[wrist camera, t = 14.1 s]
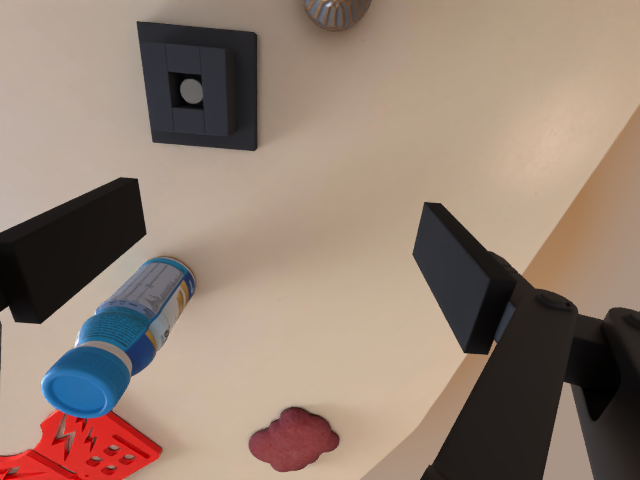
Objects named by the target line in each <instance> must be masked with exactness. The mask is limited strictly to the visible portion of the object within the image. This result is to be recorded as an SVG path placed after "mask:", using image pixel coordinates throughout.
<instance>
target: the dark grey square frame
mask: <svg viewBox="0 0 640 480" xmlns="http://www.w3.org/2000/svg"><path fill="white" fill-rule="evenodd" d="M139 43H140V50H141V58H142V65H143V73H144V80H145V88H146V95H147V103H148V110H149V118H150V125H151V130H157V131H169V132H181V133H193V134H206V135H216V136H230V135H231V134H233V133H235V132H237V105H236V67H235V52H233V51H230V50H227V49H224V48H213V47H202V46H192V45H181V44H170V43H159V42H149V41H139ZM184 73H188V74H199V75H202V89H203V105H204V107H203V106H192V105H186V101H185V100H184V98H183V97H182V95H181V92H180V87H181V84H182V82H183V81H184Z"/></svg>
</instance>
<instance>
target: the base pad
mask: <svg viewBox="0 0 640 480" xmlns="http://www.w3.org/2000/svg"><path fill="white" fill-rule="evenodd" d="M137 29H138V36H139V41H149V42H159V43H170V44H181V45H192V46H202V47H213V48H224V49H227V50H230V51H233V52H235V67H236V105H237V132H235V133H233V134H231V135H230V136H216V135H206V134H193V133H181V132H169V131H157V130H151V134H152V141H153V142H155V143H166V144H178V145H190V146H202V147H214V148H226V149H237V150H249V151H255V150H256V149H257V34H256V33H254V32H245V31H235V30H224V29H213V28H203V27H192V26H182V25H171V24H160V23H150V22H139V21H137ZM139 44H140V43H139ZM140 51H141V50H140ZM141 59H142V58H141ZM142 66H143V65H142ZM143 74H144V73H143ZM144 81H145V80H144ZM145 89H146V88H145ZM180 92H181V95H182V97H183V98H184V100H185V101H186V105H192V106H203V107H204V105H203V89H202V75H199V74H188V73H184V81H183V82H182V84H181V87H180ZM146 96H147V95H146ZM147 104H148V103H147ZM148 111H149V110H148ZM149 119H150V118H149ZM150 126H151V125H150Z"/></svg>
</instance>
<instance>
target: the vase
mask: <svg viewBox="0 0 640 480" xmlns="http://www.w3.org/2000/svg"><path fill="white" fill-rule="evenodd" d="M371 1H372V0H302V3H303V6H304V8H305V10H306V12H307V14H308V15H309V17H310V18H311V19H312V20H313V21H314V22H315V23H316V24H317V25H318V26H320V27H322V28H324V29H326V30H329V31H342V30H346V29H348V28H350V27H352V26H354V25H355V24H356V23H357V22H359V21H360V20H361V19H362V17H363V16H364V15H365V13H366V12H367V10H368V8H369V6H370V4H371Z"/></svg>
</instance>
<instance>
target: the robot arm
mask: <svg viewBox="0 0 640 480" xmlns="http://www.w3.org/2000/svg"><path fill="white" fill-rule="evenodd" d="M145 235H146V227H145V221H144V215H143V209H142V202H141V196H140V190H139V184H138V179H135V178H122V177H120V178H118V179H116V180H114V181H112V182H109V183H107V184H105V185H103V186H101V187H98V188H96V189H94V190H92V191H90V192H88V193H85V194H83V195H81V196H79V197H77V198H75V199H72V200H70V201H68V202H66V203H64V204H62V205H59V206H57V207H55V208H53V209H51V210H49V211H46V212H44V213H42V214H40V215H38V216H36V217H33V218H31V219H29V220H27V221H25V222H22V223H20V224H18V225H16V226H14V227H12V228H9V229H7V230H5V231H3V232H1V233H0V312H1V311H2V310H4V309H5V308H6V307H8V306H9V308H10V310H11V313H12V315H13V318H14V320H15V322H20V323H35V324H41V323H43V322H44V321H45V320H46V319H47V318H48V317H50V316H51V315H52V314H53V313H54V312H55V311H57V310H58V309H59V308H60V307H61V306H63V305H64V304H65V303H66V302H67V301H68V300H70V299H71V298H72V297H73V296H74V295H75V294H77V293H78V292H79V291H80V290H81V289H83V288H84V287H85V286H86V285H87V284H88V283H90V282H91V281H92V280H93V279H94V278H95V277H97V276H98V275H99V274H100V273H101V272H103V271H104V270H105V269H106V268H107V267H108V266H110V265H111V264H112V263H113V262H114V261H115V260H117V259H118V258H119V257H120V256H121V255H123V254H124V253H125V252H126V251H127V250H128V249H130V248H131V247H132V246H133V245H134V244H135V243H137V242H138V241H139V240H140V239H141V238H143V237H144V236H145ZM412 255H413V257H414V259H415V260H416V262H417V264H418V266H419V268H420V270H421V272H422V274H423V276H424V278H425V279H426V281H427V283H428V285H429V287H430V289H431V291H432V293H433V295H434V297H435V299H436V300H437V302H438V304H439V306H440V308H441V310H442V312H443V314H444V316H445V318H446V320H447V321H448V323H449V325H450V327H451V329H452V331H453V333H454V335H455V337H456V339H457V341H458V342H459V344H460V346H461V348H462V350H463V352H464V353H470V354H485V355H488V353H489V351H490V348H491V346H492V343H493V341H494V340H495V341H496V343H497V345H496V347H495V349H494V351H493V353H492V354H491V356H490V358H489V360H488V362H487V363H486V365H485V367H484V369H483V371H482V373H481V375H480V377H479V379H478V380H477V382H476V384H475V386H474V388H473V390H472V391H471V394H470V395H469V397H468V399H467V401H466V403H465V405H464V407H463V409H462V410H461V412H460V414H459V416H458V418H457V419H456V422H455V423H454V425H453V427H452V429H451V431H450V433H449V435H448V436H447V438H446V440H445V442H444V444H443V446H442V447H441V449H440V452H439V453H438V455H437V457H436V459H435V460H434V462H433V464H432V465H429V466H428V468H427V469H426V470H425V472H424V474H423V476H422V478H421V479H420V480H542V479H543V474H544V469H545V465H546V460H547V456H548V451H549V446H550V441H551V437H552V432H553V428H554V423H555V418H556V414H557V409H558V405H559V400H560V395H561V391H562V386H563V382H567V383H570V384H571V388H572V392H573V396H574V400H575V404H576V408H577V412H578V416H579V420H580V424H581V429H582V432H583V437H584V440H585V445H586V448H587V453H588V457H589V461H590V465H591V469H592V473H593V477H594V480H640V312H637V311H634V310H631V309H626V308H620V307H619V308H612V309H610V310H609V311H608V313H607V315H606V317H605V319H604V320H601V319H596V318H593V317H588V316H584V315H580V314H578V309H577V307H576V306H575V305H574V304H573V303H572V302H571V301H569V300H568V299H566V298H565V297H563V296H560V295H558V294H556V293H554V292H550V291H547V290H542V289H535V288H534V287H533V286H532V285H531V284H530V283H529V282H528V281H527V280H526V279H524V278H523V277H522V276H521V275H520V274H518V272H517V271H516V270H515V269H514V268H513V267H511V265H510V264H509V263H508V262H507V261H506V260H505V259H504V258H502V257H500V256H499V255H497V254H495V253H493V252H491V251H487V250H486V249H485V248H484V247H483V246H482V245H481V244H480V243H479V242H478V241H477V240H476V239H475V238H474V237H473V236H472V235H471V234H470V233H469V232H468V231H467V229H466V228H465V227H464V226H463V225H462V224H461V223H460V222H459V221H458V220H457V219H456V218H455V217H454V216H453V215H452V214H451V213H450V212H449V211H448V210H447V209H446V208H445V207H444V206H443V205H442V204H441V203H429V202H424V206H423V211H422V215H421V219H420V224H419V228H418V232H417V237H416V241H415V245H414V250H413V254H412ZM1 331H2V324H1V322H0V369H1Z"/></svg>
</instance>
